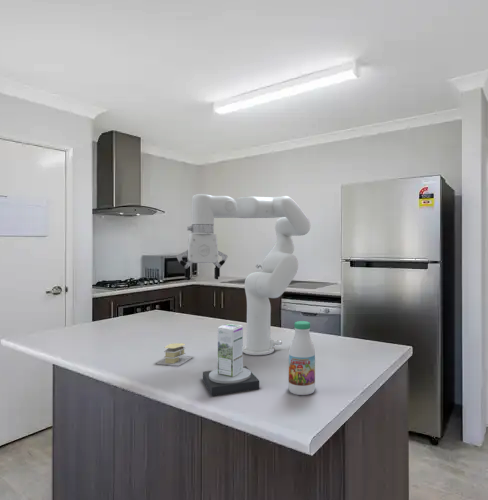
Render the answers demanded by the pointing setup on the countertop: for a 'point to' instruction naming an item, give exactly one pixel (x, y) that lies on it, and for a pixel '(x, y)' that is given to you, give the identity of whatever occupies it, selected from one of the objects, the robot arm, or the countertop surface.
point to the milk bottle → (302, 361)
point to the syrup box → (230, 350)
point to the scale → (230, 382)
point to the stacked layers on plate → (174, 355)
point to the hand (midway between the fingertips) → (202, 279)
